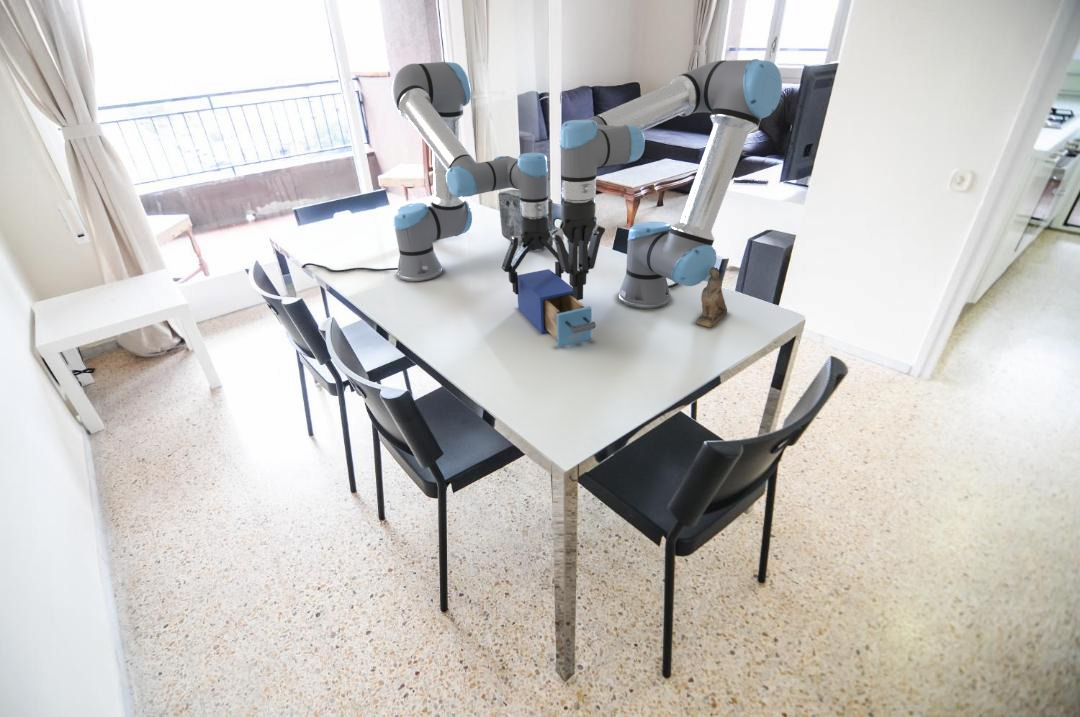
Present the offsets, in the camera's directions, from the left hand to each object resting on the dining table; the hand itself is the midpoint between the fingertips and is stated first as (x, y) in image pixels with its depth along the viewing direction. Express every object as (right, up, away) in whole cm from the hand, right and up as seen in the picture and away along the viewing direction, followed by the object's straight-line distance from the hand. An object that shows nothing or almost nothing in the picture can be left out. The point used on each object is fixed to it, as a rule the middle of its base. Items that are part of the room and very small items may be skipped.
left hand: (537, 288), depth 145 cm
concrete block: (-4, +23, +51) cm, 57 cm away
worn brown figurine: (+49, -9, -5) cm, 50 cm away
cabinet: (+2, -8, -1) cm, 9 cm away
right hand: (+10, -6, -24) cm, 27 cm away
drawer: (+8, -14, -12) cm, 20 cm away
